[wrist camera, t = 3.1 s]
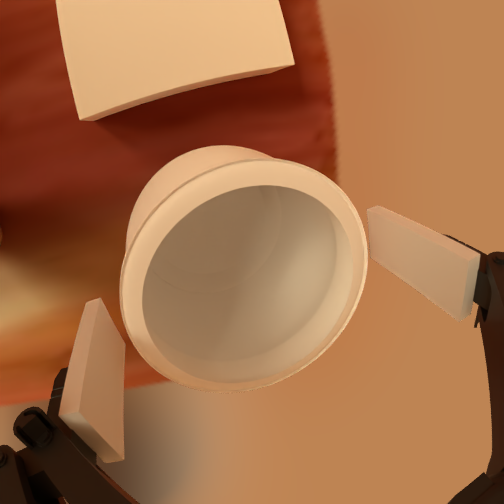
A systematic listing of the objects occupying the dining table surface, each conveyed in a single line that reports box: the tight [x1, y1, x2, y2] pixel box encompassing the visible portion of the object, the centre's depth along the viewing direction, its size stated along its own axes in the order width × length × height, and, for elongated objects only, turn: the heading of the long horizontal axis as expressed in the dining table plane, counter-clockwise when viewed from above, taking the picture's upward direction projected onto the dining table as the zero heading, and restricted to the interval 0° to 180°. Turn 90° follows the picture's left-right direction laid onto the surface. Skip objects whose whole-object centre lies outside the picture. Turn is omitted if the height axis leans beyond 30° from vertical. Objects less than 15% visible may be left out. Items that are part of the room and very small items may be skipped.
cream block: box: [56, 0, 295, 121], centre depth 17 cm, size 14×14×5 cm
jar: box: [120, 145, 368, 393], centre depth 19 cm, size 11×10×15 cm
